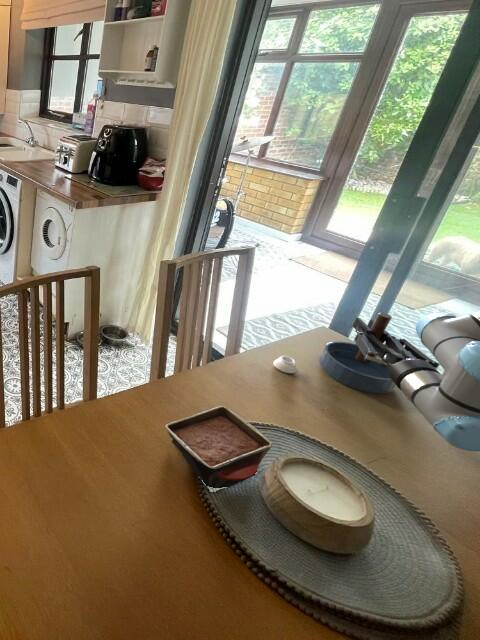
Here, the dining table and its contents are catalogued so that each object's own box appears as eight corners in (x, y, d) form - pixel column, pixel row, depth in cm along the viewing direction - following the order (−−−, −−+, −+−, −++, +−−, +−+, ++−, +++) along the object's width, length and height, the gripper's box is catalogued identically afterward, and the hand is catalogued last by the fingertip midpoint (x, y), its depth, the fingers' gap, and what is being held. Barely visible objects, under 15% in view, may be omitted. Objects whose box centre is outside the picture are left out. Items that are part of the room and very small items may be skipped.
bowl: (393, 373, 109) (402, 358, 107) (393, 404, 99) (402, 389, 97) (321, 348, 118) (328, 334, 116) (314, 374, 108) (321, 360, 106)
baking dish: (153, 444, 91) (158, 416, 85) (222, 420, 93) (231, 391, 88) (200, 509, 79) (210, 480, 73) (278, 479, 81) (293, 449, 76)
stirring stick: (367, 360, 107) (391, 315, 101) (367, 364, 105) (391, 319, 99) (355, 355, 108) (378, 311, 102) (355, 360, 107) (378, 315, 101)
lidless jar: (285, 361, 113) (268, 362, 113) (289, 353, 112) (272, 353, 112) (300, 374, 109) (282, 374, 108) (304, 365, 107) (286, 366, 107)
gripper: (370, 388, 91) (322, 329, 112) (458, 404, 87) (392, 340, 107) (384, 362, 88) (333, 306, 108) (477, 377, 84) (405, 316, 104)
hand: (363, 323), depth 108 cm, fingers closed on stirring stick, 2 cm apart
